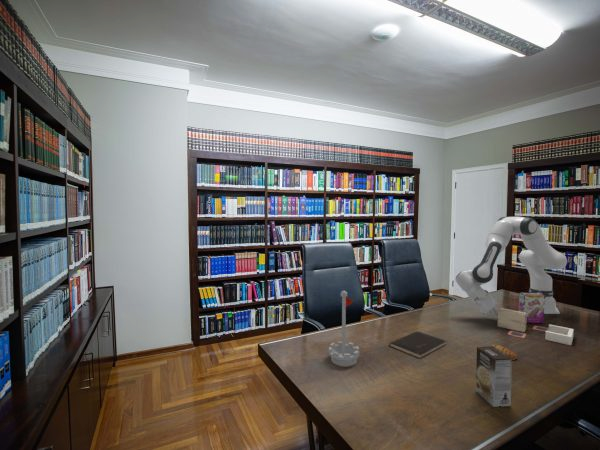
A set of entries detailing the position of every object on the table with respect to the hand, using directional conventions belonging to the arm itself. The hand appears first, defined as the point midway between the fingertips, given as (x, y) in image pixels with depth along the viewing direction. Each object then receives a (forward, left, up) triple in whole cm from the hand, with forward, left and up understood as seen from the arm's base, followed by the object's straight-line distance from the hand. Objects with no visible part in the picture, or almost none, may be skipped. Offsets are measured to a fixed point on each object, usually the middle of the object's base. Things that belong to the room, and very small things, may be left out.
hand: (497, 316), depth 169 cm
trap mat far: (-9, +19, -5) cm, 21 cm away
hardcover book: (+58, -20, -5) cm, 62 cm away
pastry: (+41, +10, -5) cm, 43 cm away
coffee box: (+81, +16, -5) cm, 83 cm away
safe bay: (0, +27, -5) cm, 27 cm away
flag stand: (+95, -36, -5) cm, 102 cm away
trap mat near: (+10, +11, -5) cm, 15 cm away
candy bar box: (-19, +13, -5) cm, 23 cm away
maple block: (0, +7, -5) cm, 8 cm away
